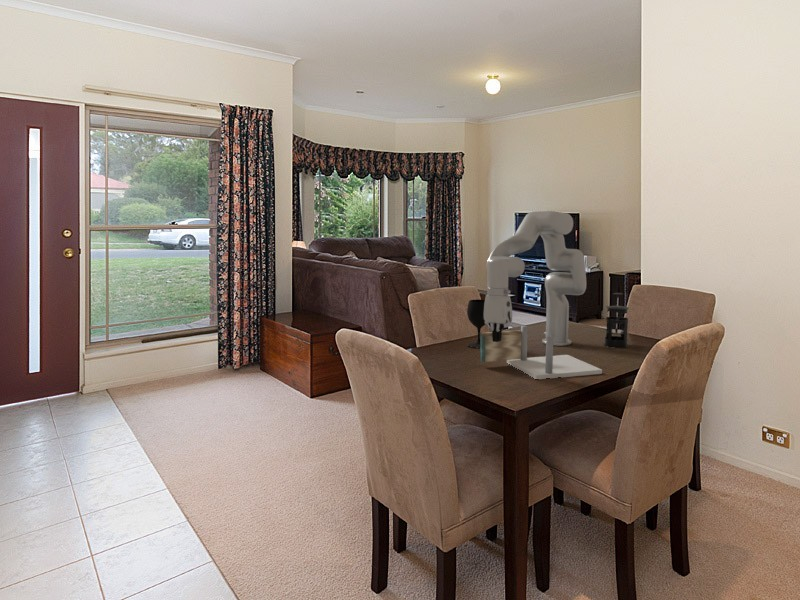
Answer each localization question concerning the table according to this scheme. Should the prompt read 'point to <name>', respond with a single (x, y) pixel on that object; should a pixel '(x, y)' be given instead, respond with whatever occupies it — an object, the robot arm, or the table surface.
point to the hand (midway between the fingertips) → (496, 341)
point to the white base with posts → (550, 362)
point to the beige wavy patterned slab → (500, 346)
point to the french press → (616, 340)
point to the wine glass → (476, 317)
